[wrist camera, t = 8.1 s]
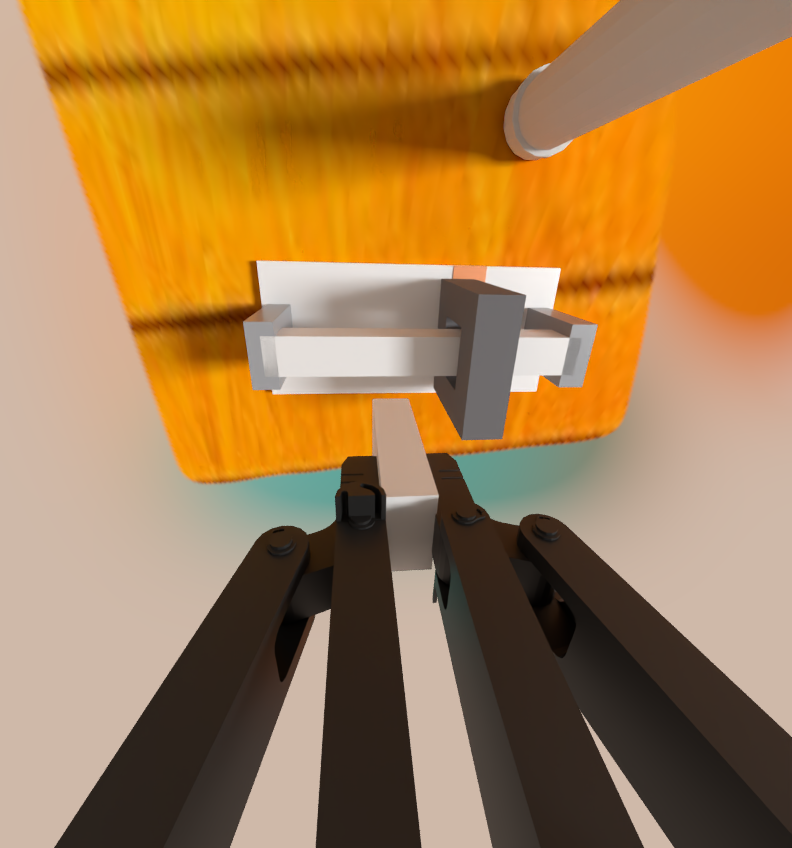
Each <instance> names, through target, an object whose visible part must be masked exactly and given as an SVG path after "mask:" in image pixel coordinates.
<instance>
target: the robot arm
mask: <svg viewBox="0 0 792 848" xmlns="http://www.w3.org/2000/svg"><path fill="white" fill-rule="evenodd" d="M335 505H336V520H335V521H334V522H333V523H332V524H331V525H330V526H329V527H327V528H325V529H323V530H321V531H318V532H315V533H312V534H309V535H307V534H306V533H305V532H304V531H303V530H302V529H300V528H297V527H294V526H280V527H277V528H273V529H270V530H269V531H267V532H265V533H263V534H262V535H261V536H260V537H259V538H258V539H257V540H256V541H255V543H254V545H253V546H252V548H251V549H250V551H249V552H248V554H247V555H246V557H245V558H244V560H243V562H242V563H241V564H240V566H239V567H238V569H237V571H236V572H235V573H234V575H233V576H232V578H231V580H230V581H229V583H228V584H227V586H226V587H225V589H224V590H223V592H222V593H221V595H220V596H219V598H218V599H217V601H216V602H215V604H214V606H213V607H212V608H211V610H210V611H209V613H208V615H207V616H206V618H205V619H204V621H203V622H202V624H201V625H200V627H199V628H198V630H197V631H196V633H195V634H194V636H193V637H192V639H191V640H190V642H189V643H188V645H187V646H186V648H185V649H184V651H183V653H182V654H181V656H180V657H179V659H178V660H177V662H176V663H175V665H174V666H173V668H172V669H171V671H170V672H169V674H168V675H167V677H166V678H165V680H164V681H163V683H162V684H161V686H160V688H159V689H158V691H157V692H156V694H155V695H154V697H153V698H152V700H151V701H150V703H149V705H148V706H147V707H146V709H145V710H144V712H143V713H142V715H141V717H140V718H139V719H138V721H137V723H136V724H135V726H134V727H133V729H132V730H131V732H130V733H129V735H128V736H127V738H126V739H125V741H124V742H123V744H122V745H121V747H120V748H119V750H118V752H117V753H116V754H115V756H114V758H113V759H112V761H111V762H110V764H109V765H108V767H107V768H106V770H105V771H104V773H103V775H102V776H101V777H100V779H99V781H98V782H97V783H96V785H95V786H94V788H93V789H92V791H91V792H90V794H89V796H88V797H87V799H86V800H85V802H84V803H83V805H82V806H81V808H80V809H79V811H78V812H77V814H76V815H75V817H74V818H73V820H72V822H71V823H70V825H69V826H68V828H67V829H66V831H65V832H64V834H63V835H62V837H61V838H60V840H59V841H58V843H57V845H56V846H55V847H54V848H230V846H231V843H232V840H233V837H234V835H235V832H236V830H237V827H238V824H239V821H240V819H241V816H242V813H243V810H244V808H245V805H246V803H247V800H248V797H249V794H250V792H251V789H252V786H253V784H254V781H255V778H256V776H257V773H258V770H259V767H260V765H261V762H262V759H263V756H264V754H265V751H266V748H267V746H268V743H269V740H270V737H271V735H272V732H273V730H274V727H275V724H276V721H277V719H278V716H279V713H280V711H281V708H282V705H283V703H284V700H285V697H286V694H287V692H288V689H289V686H290V684H291V681H292V678H293V676H294V673H295V670H296V668H297V665H298V662H299V659H300V656H301V654H302V651H303V648H304V646H305V643H306V641H307V638H308V635H309V632H310V630H311V627H312V624H313V622H314V618H315V615H316V614H318V613H321V612H324V611H326V610H329V609H331V614H330V631H329V646H328V662H327V678H326V693H325V709H324V725H323V741H322V756H321V774H320V788H319V789H320V790H319V804H318V819H317V836H316V848H421V839H420V830H419V820H418V812H417V802H416V793H415V784H414V776H413V775H414V774H413V765H412V756H411V747H410V737H409V729H408V720H407V710H406V701H405V692H404V682H403V673H402V664H401V655H400V645H399V637H398V627H397V618H396V608H395V599H394V590H393V581H392V572H391V571H406V570H424V569H431V567H432V558H433V560H434V564H435V569H436V570H435V580H434V589H433V603H436V601H437V597H438V602H439V606H440V611H441V615H442V620H443V625H444V629H445V634H446V638H447V643H448V647H449V652H450V656H451V661H452V665H453V670H454V674H455V679H456V684H457V688H458V693H459V697H460V702H461V706H462V711H463V715H464V719H465V725H466V729H467V733H468V738H469V743H470V747H471V752H472V756H473V761H474V765H475V770H476V775H477V779H478V783H479V788H480V793H481V797H482V801H483V806H484V810H485V815H486V820H487V824H488V829H489V833H490V838H491V843H492V847H493V848H644V847H643V845H642V843H641V840H640V838H639V836H638V834H637V832H636V830H635V827H634V825H633V823H632V821H631V819H630V817H629V815H628V813H627V810H626V808H625V807H624V804H623V802H622V800H621V797H620V795H619V793H618V791H617V789H616V787H615V785H614V782H613V780H612V778H611V776H610V774H609V772H608V770H607V768H606V765H605V763H604V761H603V759H602V757H601V755H600V752H599V750H598V748H597V746H596V744H595V742H594V740H593V737H592V735H591V733H590V731H589V729H588V727H587V725H586V723H585V721H584V718H583V716H582V714H583V715H584V717H585V718H586V719H587V721H588V722H589V724H590V725H591V727H592V728H593V730H594V731H595V733H596V734H597V735H598V737H599V739H600V740H601V741H602V743H603V744H604V746H605V747H606V749H607V750H608V752H609V753H610V754H611V756H612V757H613V759H614V760H615V762H616V763H617V765H618V766H619V767H620V769H621V771H622V772H623V774H624V775H625V776H626V778H627V779H628V781H629V782H630V784H631V785H632V787H633V788H634V789H635V791H636V792H637V794H638V795H639V797H640V798H641V800H642V801H643V803H644V804H645V806H646V807H647V808H648V810H649V811H650V813H651V814H652V816H653V817H654V819H655V820H656V822H657V823H658V824H659V826H660V827H661V829H662V830H663V832H664V833H665V835H666V836H667V838H668V839H669V841H670V842H671V843H672V845H673V846H674V848H792V737H791V736H790V735H789V734H788V733H787V732H786V731H785V730H784V729H783V728H781V727H780V726H779V725H778V724H777V723H776V722H775V721H774V720H773V719H772V718H771V717H770V716H769V715H768V714H766V713H765V712H764V711H763V710H762V709H761V708H760V707H759V706H758V705H757V704H756V703H755V702H754V701H753V700H752V699H751V698H749V697H748V696H747V695H746V694H745V693H744V692H743V691H742V690H741V689H740V688H739V687H738V686H737V685H735V684H734V683H733V682H732V681H731V680H730V679H729V678H728V677H727V676H726V675H725V674H724V673H723V672H722V671H721V670H720V669H719V668H717V667H716V666H715V665H714V664H713V663H712V662H711V661H710V660H709V659H708V658H707V657H706V656H704V654H702V653H701V652H700V651H699V650H698V649H697V648H696V647H695V646H694V645H693V644H692V643H691V642H690V641H689V640H688V639H687V638H685V637H684V636H683V635H682V634H681V633H680V632H679V631H678V630H677V629H676V628H675V627H674V626H673V625H672V624H671V623H669V622H668V621H667V620H666V619H665V618H664V617H663V616H662V615H661V614H660V613H659V612H658V611H657V610H656V609H655V608H653V607H652V606H651V605H650V604H649V603H648V602H647V601H646V600H645V599H644V598H643V597H642V596H641V595H640V594H639V593H637V592H636V591H635V590H634V589H633V588H632V587H631V586H630V585H629V584H628V583H627V582H626V581H625V580H624V579H623V578H621V577H620V576H619V575H618V574H617V573H616V572H615V571H614V570H613V569H612V568H611V567H610V566H609V565H608V564H606V563H605V562H604V561H603V560H602V559H601V558H600V557H599V556H598V555H597V554H596V553H595V552H594V551H593V550H591V548H589V547H588V546H587V545H586V544H585V543H584V542H583V541H582V540H581V539H580V538H579V537H577V535H575V534H574V533H573V532H572V531H571V530H570V529H569V528H568V527H567V526H566V525H564V524H563V523H562V522H560V521H559V520H557V519H555V518H553V517H550V516H547V515H542V514H531V515H528V516H526V517H524V518H523V519H522V520H521V522H520V525H519V526H518V525H512V524H507V523H502V522H498V521H495V520H493V519H490V517H489V515H488V513H487V512H486V511H485V509H483V508H482V507H480V506H479V505H477V504H475V503H474V501H473V499H472V496H471V494H470V492H469V490H468V487H467V485H466V483H465V480H464V479H463V476H462V473H461V472H460V469H459V467H458V464H457V462H456V460H454V459H453V458H452V457H451V456H450V455H448V454H447V453H433V454H426V453H425V450H424V447H423V444H422V441H421V437H420V434H419V431H418V428H417V425H416V422H415V418H414V415H413V412H412V409H411V406H410V402H409V399H373V456H353V457H347V459H346V460H345V461H344V463H343V464H342V469H341V486H340V489H339V490H338V491H337V493H336V496H335ZM579 709H580V710H579ZM580 711H581V712H582V714H581V712H580Z"/></svg>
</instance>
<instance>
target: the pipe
mask: <svg viewBox="0 0 792 848" xmlns="http://www.w3.org/2000/svg"><path fill="white" fill-rule="evenodd" d="M789 37H792V0H620V1H619V2H618V3H617V4H616V5H615V6H614V7H613V8H612V9H610V10H609V11H608V12H607V13H606V14H605V15H604V16H603V17H602V18H601V19H599V20H598V21H597V22H596V23H595V24H594V25H593V26H592V27H591V28H589V29H588V30H587V31H586V32H585V33H584V34H583V35H582V36H581V37H580V38H578V39H577V40H576V41H575V42H574V43H573V44H572V45H571V46H570V47H569V48H567V49H566V50H565V51H564V52H563V53H562V54H561V55H560V56H559V57H557V58H556V59H555V60H554V61H553V62H552V63H551V64H549V63H548V64H546V65H544V66H542V67H540V68H538V69H536V70H534V71H533V72H532V73H531V74H530V75H529V76H528V77H527V78H526V79H525V80H524V82H523V83H522V84H521V85H520V86H519V88H518V89H517V91H516V92H515V93H514V94H513V95H512V96H511V99H510V101H509V104H508V106H507V108H506V111H505V118H504V132H505V137H506V141H507V144H508V145H509V147H510V148H511V150H512V151H513V153H514V154H516V155H517V156H519V157H521V158H523V159H524V160H538V159H540V158H547V157H550V156H552V155H554V154H556V153H558V152H560V151H562V150H564V148H565V147H566V146H567V145H568V144H569V143H570V142H571V141H572V140H573V139H574V138H576V137H579V136H581V135H583V134H585V133H587V132H589V131H591V130H593V129H596V128H598V127H600V126H602V125H604V124H606V123H608V122H610V121H613V120H615V119H617V118H619V117H621V116H623V115H625V114H628V113H630V112H632V111H634V110H636V109H638V108H640V107H642V106H645V105H647V104H649V103H651V102H653V101H655V100H657V99H659V98H662V97H664V96H666V95H668V94H670V93H672V92H674V91H677V90H679V89H681V88H683V87H685V86H687V85H689V84H691V83H694V82H695V81H698V80H700V79H702V78H704V77H706V76H708V75H711V74H713V73H715V72H717V71H719V70H721V69H723V68H725V67H727V66H730V65H732V64H734V63H736V62H738V61H740V60H743V59H745V58H747V57H749V56H751V55H753V54H755V53H757V52H760V51H762V50H764V49H766V48H768V47H770V46H772V45H775V44H776V43H779V42H781V41H783V40H785V39H787V38H789Z"/></svg>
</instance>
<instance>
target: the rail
mask: <svg viewBox="0 0 792 848" xmlns="http://www.w3.org/2000/svg"><path fill="white" fill-rule="evenodd" d="M256 262H257V270H258V278H259V286H260V294H261V303H262V308H261V309H260V310H259V311H257V312H256V313H254V314H253V315H252V316H250V317H249V318H247V319H246V320H245V321H243V326H244V332H245V339H246V346H247V353H248V360H249V367H250V374H251V380H252V387H253V390H272V392H273V394H332V393H429V392H436V391H435V390H434V388H433V384H434V376H457V367H458V357H459V347H460V337H461V329H438V317H439V303H440V290H441V279H476V280H479V281H482V282H485V283H489V284H492V285H495V286H498V287H501V288H505V289H508V290H511V291H514V292H518V293H521V294H524V295H526V301H525V307H524V313H523V318H522V324H521V330H520V336H519V342H518V348H517V354H516V360H515V366H514V372H513V378H512V384H511V390H510V392H527V391H536V390H537V385H538V380H539V375H542V376H544V377H545V378H546V379H548V380H549V381H551V382H552V383H554V384H555V385H556V386H558V387H582V385H583V381H584V377H585V373H586V369H587V365H588V361H589V357H590V353H591V349H592V345H593V342H594V338H595V334H596V330H597V326H598V325H597V324H594V323H591V322H588V321H585V320H582V319H579V318H576V317H574V316H571V315H568V314H565V313H562V312H559V311H556V310H553V305H554V300H555V295H556V290H557V285H558V280H559V275H560V270H561V268H545V267H504V266H464V265H423V264H382V263H341V262H301V261H260V260H258V261H256Z"/></svg>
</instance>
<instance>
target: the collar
mask: <svg viewBox="0 0 792 848" xmlns="http://www.w3.org/2000/svg"><path fill="white" fill-rule="evenodd" d="M525 301H526V295H524V294H521V293H518V292H514V291H511V290H508V289H505V288H501V287H498V286H495V285H492V284H489V283H485V282H482V281H479V280H476V279H441V290H440V303H439V317H438V329H461V337H460V347H459V357H458V367H457V376H434V384H433V388H434V390H435V391H436V393H437V395H438V397H439V399H440V401H441V402H442V404H443V406H444V408H445V410H446V412H447V414H448V415H449V417H450V419H451V421H452V423H453V425H454V426H455V428H456V430H457V432H458V434H459V436H460V437H461V439H462V440H486V439H502V437H503V431H504V425H505V419H506V413H507V407H508V401H509V396H510V390H511V384H512V378H513V372H514V366H515V360H516V354H517V348H518V342H519V336H520V330H521V324H522V318H523V313H524V307H525Z"/></svg>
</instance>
